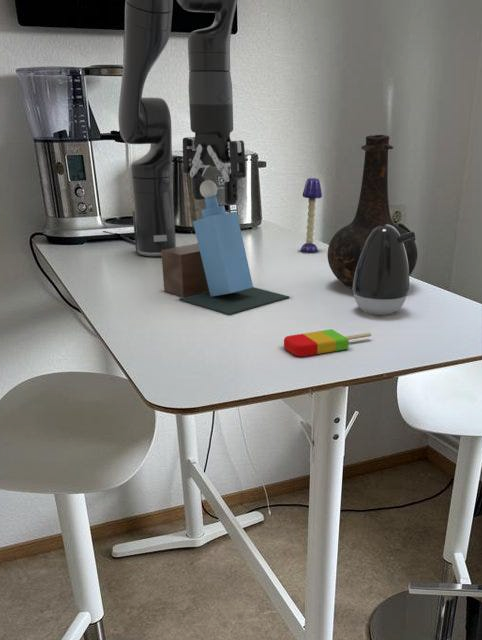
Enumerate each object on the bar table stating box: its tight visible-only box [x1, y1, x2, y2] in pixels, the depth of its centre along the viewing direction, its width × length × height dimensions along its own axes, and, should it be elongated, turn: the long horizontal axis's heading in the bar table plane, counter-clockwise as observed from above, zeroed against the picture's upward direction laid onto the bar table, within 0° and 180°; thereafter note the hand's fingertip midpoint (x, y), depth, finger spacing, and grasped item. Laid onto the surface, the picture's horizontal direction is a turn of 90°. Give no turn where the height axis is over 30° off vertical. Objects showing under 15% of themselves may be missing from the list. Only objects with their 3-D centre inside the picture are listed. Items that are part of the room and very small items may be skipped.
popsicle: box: [283, 328, 372, 358], centre depth 111 cm, size 6×15×2 cm, turn 116°
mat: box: [178, 286, 290, 316], centre depth 135 cm, size 14×16×1 cm
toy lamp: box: [300, 177, 323, 254], centre depth 168 cm, size 5×5×17 cm
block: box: [161, 242, 209, 298], centre depth 139 cm, size 6×12×8 cm, turn 137°
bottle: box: [192, 179, 254, 297], centre depth 131 cm, size 14×6×19 cm, turn 47°
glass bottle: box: [326, 134, 418, 289], centre depth 136 cm, size 18×18×28 cm
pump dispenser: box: [352, 224, 417, 316], centre depth 124 cm, size 10×10×15 cm
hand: (214, 201), depth 129 cm, fingers open, 8 cm apart
